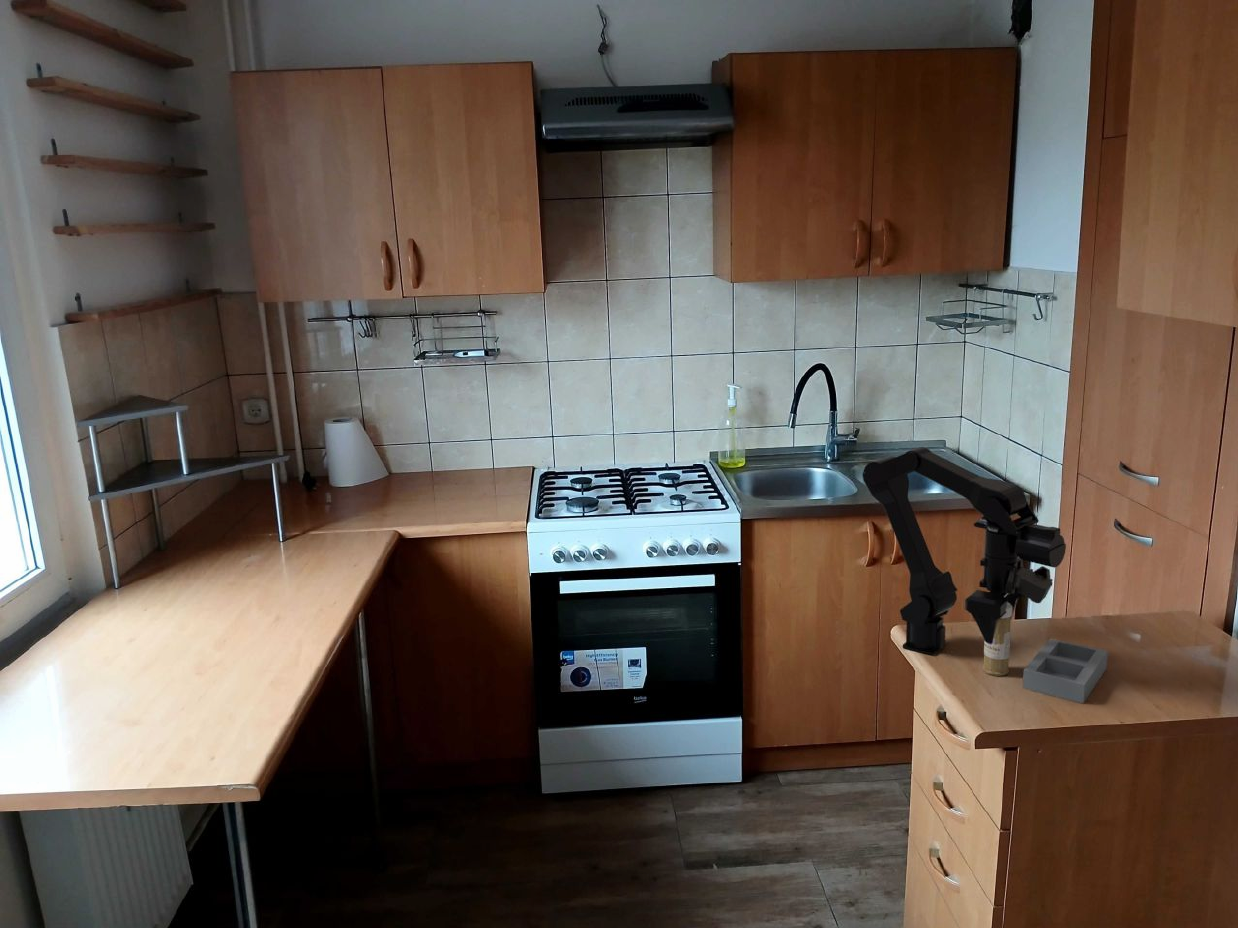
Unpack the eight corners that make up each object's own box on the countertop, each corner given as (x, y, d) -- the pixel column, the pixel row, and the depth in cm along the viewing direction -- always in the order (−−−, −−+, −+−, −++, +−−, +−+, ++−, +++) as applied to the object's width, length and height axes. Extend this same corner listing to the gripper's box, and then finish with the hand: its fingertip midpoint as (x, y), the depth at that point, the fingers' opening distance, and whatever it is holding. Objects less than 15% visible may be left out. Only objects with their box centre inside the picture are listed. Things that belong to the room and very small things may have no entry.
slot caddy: (1022, 687, 165) (1023, 670, 164) (1049, 655, 177) (1050, 638, 176) (1083, 703, 159) (1084, 684, 158) (1106, 668, 171) (1107, 650, 170)
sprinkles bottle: (978, 671, 172) (981, 604, 169) (990, 663, 175) (993, 597, 172) (1002, 679, 169) (1005, 610, 166) (1013, 670, 172) (1017, 603, 169)
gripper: (1031, 578, 155) (1027, 663, 158) (1063, 546, 168) (1058, 626, 172) (965, 566, 162) (962, 648, 165) (1001, 537, 175) (997, 613, 179)
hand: (997, 633), depth 170 cm, fingers open, 9 cm apart
